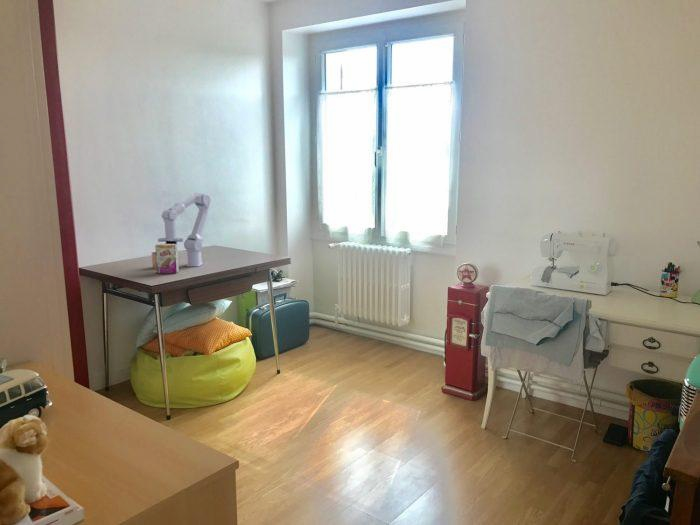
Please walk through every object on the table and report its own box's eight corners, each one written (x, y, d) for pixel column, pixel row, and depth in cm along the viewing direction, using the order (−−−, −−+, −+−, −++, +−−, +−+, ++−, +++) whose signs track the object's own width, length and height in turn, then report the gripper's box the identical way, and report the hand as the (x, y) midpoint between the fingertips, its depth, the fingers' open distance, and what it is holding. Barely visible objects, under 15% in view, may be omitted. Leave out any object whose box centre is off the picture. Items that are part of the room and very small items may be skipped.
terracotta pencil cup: (155, 266, 335) (154, 251, 333) (166, 266, 335) (165, 251, 333) (150, 268, 328) (149, 253, 326) (162, 268, 328) (161, 253, 326)
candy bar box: (156, 273, 315) (154, 245, 311) (159, 272, 319) (157, 243, 316) (177, 273, 315) (175, 245, 312) (179, 271, 320) (177, 243, 317)
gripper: (155, 231, 316) (156, 255, 319) (180, 231, 316) (181, 255, 318) (160, 229, 323) (161, 253, 326) (184, 230, 323) (186, 253, 325)
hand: (171, 254), depth 323 cm, fingers closed
